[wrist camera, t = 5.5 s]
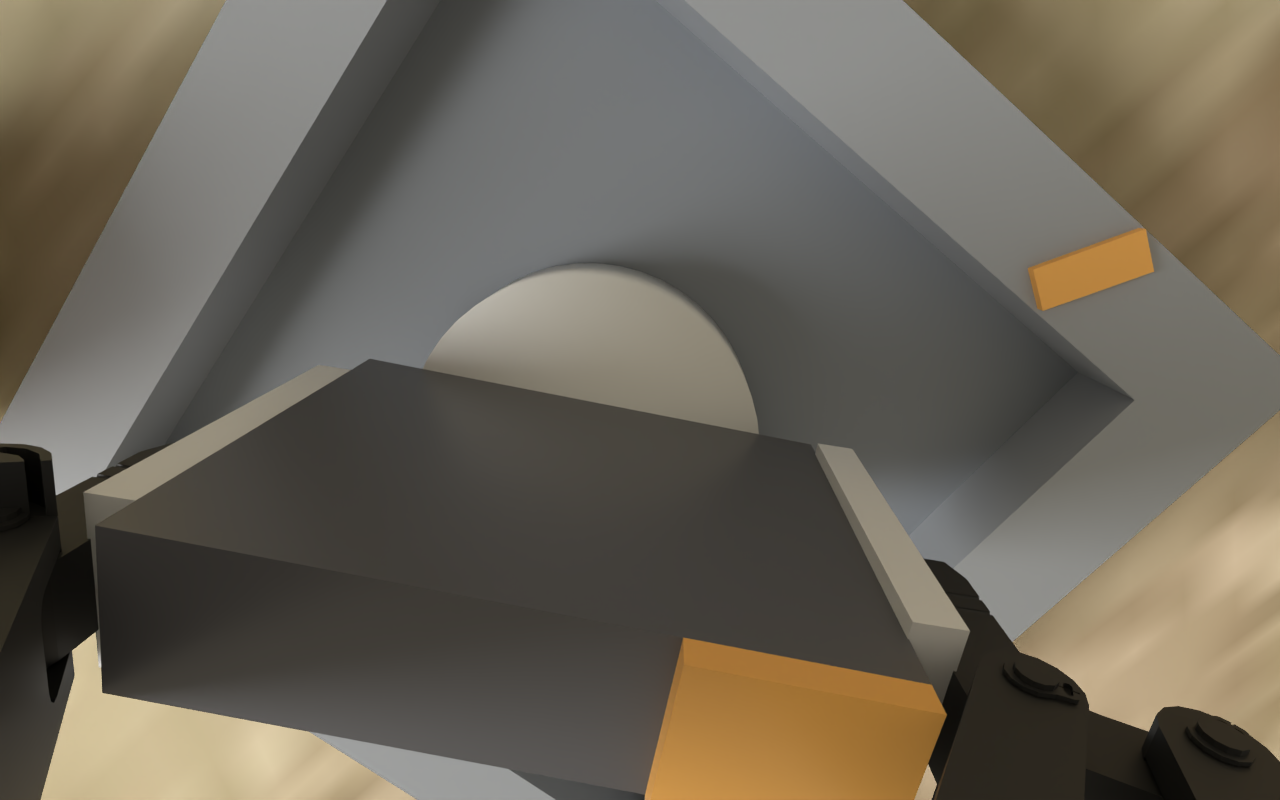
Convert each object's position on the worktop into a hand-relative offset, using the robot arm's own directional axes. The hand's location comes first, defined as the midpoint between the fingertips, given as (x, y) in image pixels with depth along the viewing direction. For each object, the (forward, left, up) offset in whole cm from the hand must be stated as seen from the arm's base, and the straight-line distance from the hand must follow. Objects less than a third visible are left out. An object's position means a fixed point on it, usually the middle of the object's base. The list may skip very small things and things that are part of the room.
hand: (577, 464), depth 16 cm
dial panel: (0, 0, -4) cm, 4 cm away
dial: (0, 0, -3) cm, 3 cm away
